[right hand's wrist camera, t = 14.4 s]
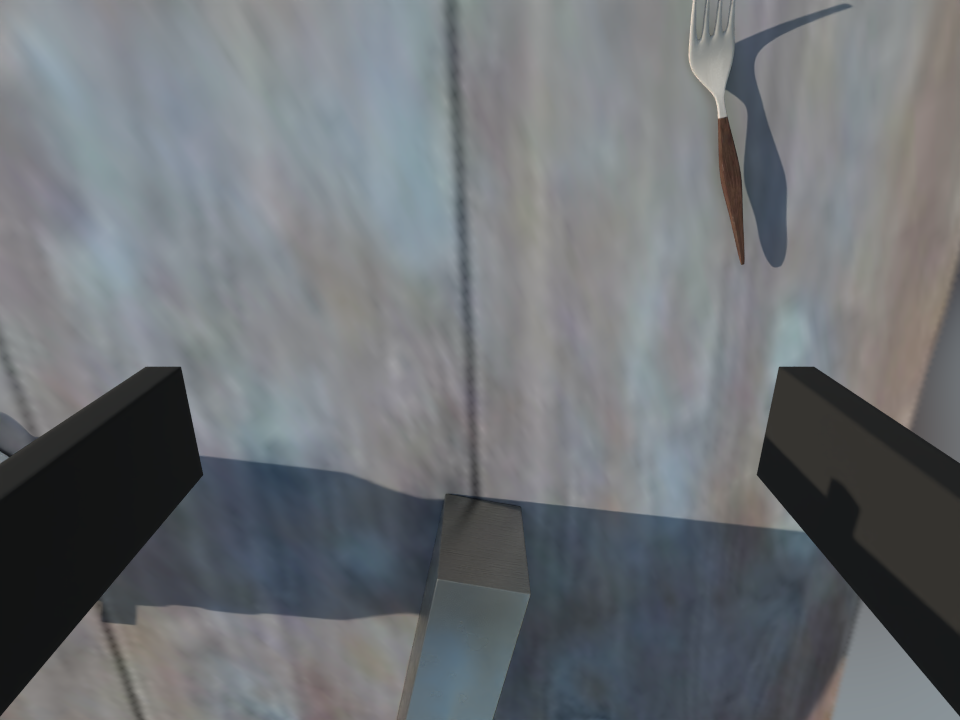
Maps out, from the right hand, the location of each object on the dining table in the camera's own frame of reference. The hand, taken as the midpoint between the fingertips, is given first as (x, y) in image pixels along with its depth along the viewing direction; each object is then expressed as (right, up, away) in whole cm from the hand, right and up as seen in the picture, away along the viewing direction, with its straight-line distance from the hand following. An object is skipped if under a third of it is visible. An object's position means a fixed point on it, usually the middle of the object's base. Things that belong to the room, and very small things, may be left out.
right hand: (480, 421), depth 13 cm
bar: (-2, -21, +35) cm, 41 cm away
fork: (+15, +15, +22) cm, 30 cm away
